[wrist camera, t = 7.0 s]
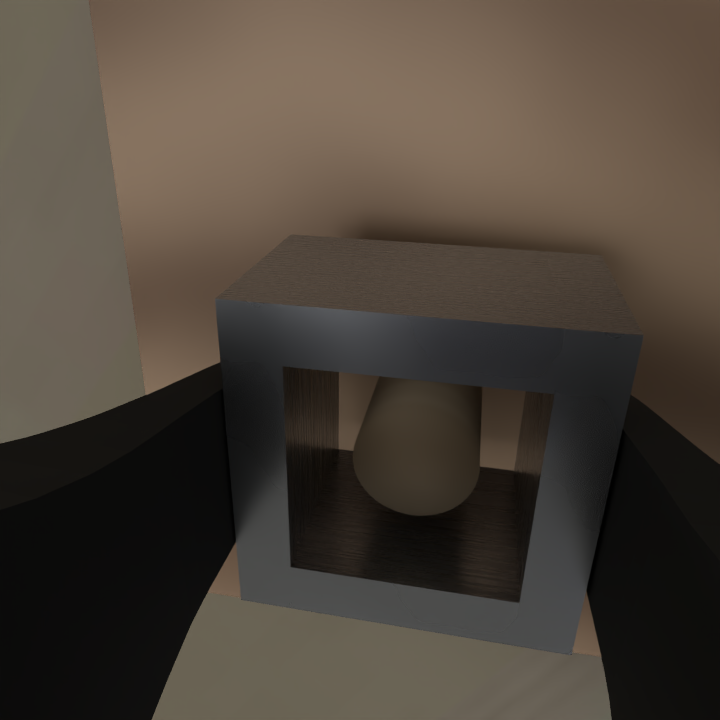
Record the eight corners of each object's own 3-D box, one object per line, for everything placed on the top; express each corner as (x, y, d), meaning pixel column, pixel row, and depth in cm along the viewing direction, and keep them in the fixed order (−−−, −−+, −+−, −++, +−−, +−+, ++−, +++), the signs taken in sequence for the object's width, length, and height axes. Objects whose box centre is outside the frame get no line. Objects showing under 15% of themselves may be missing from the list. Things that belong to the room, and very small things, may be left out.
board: (685, 642, 18) (766, 887, 13) (187, 563, 20) (79, 741, 15) (949, -155, 10) (1442, -386, 5) (98, -128, 13) (-189, -263, 7)
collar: (553, 512, 13) (571, 655, 10) (298, 478, 14) (241, 599, 11) (601, 254, 11) (643, 335, 8) (290, 233, 12) (215, 299, 8)
